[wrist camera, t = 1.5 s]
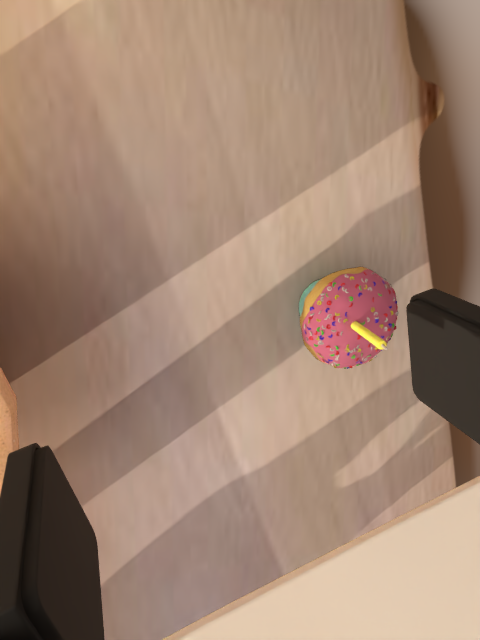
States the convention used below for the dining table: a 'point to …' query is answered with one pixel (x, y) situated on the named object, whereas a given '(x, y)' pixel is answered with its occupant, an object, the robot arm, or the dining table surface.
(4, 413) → the pottery
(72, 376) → the dining table surface
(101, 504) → the dining table surface
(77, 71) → the dining table surface
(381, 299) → the cupcake
